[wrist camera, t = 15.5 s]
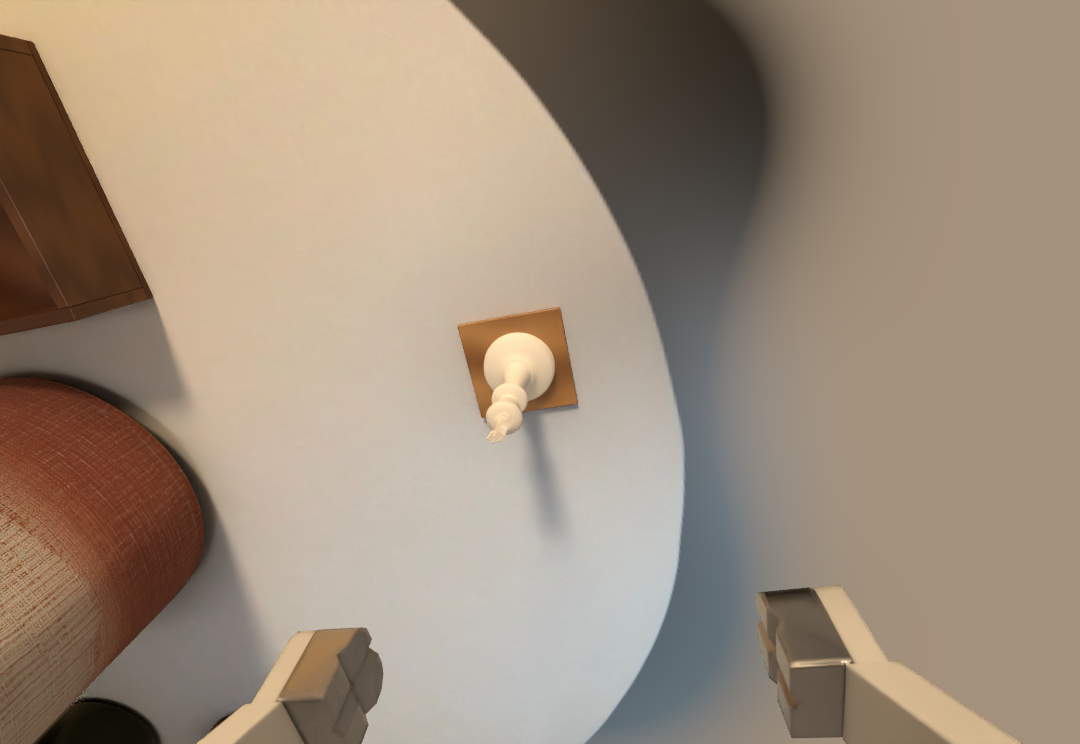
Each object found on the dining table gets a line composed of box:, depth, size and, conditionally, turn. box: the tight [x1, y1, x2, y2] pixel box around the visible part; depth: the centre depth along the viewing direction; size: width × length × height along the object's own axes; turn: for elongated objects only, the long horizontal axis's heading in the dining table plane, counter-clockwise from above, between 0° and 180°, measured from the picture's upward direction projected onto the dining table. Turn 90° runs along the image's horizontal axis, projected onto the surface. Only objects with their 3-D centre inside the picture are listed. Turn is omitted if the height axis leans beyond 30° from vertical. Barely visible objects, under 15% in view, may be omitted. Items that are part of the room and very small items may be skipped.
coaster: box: [458, 307, 578, 418], centre depth 36 cm, size 7×7×1 cm
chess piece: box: [484, 332, 555, 443], centre depth 31 cm, size 5×5×10 cm
